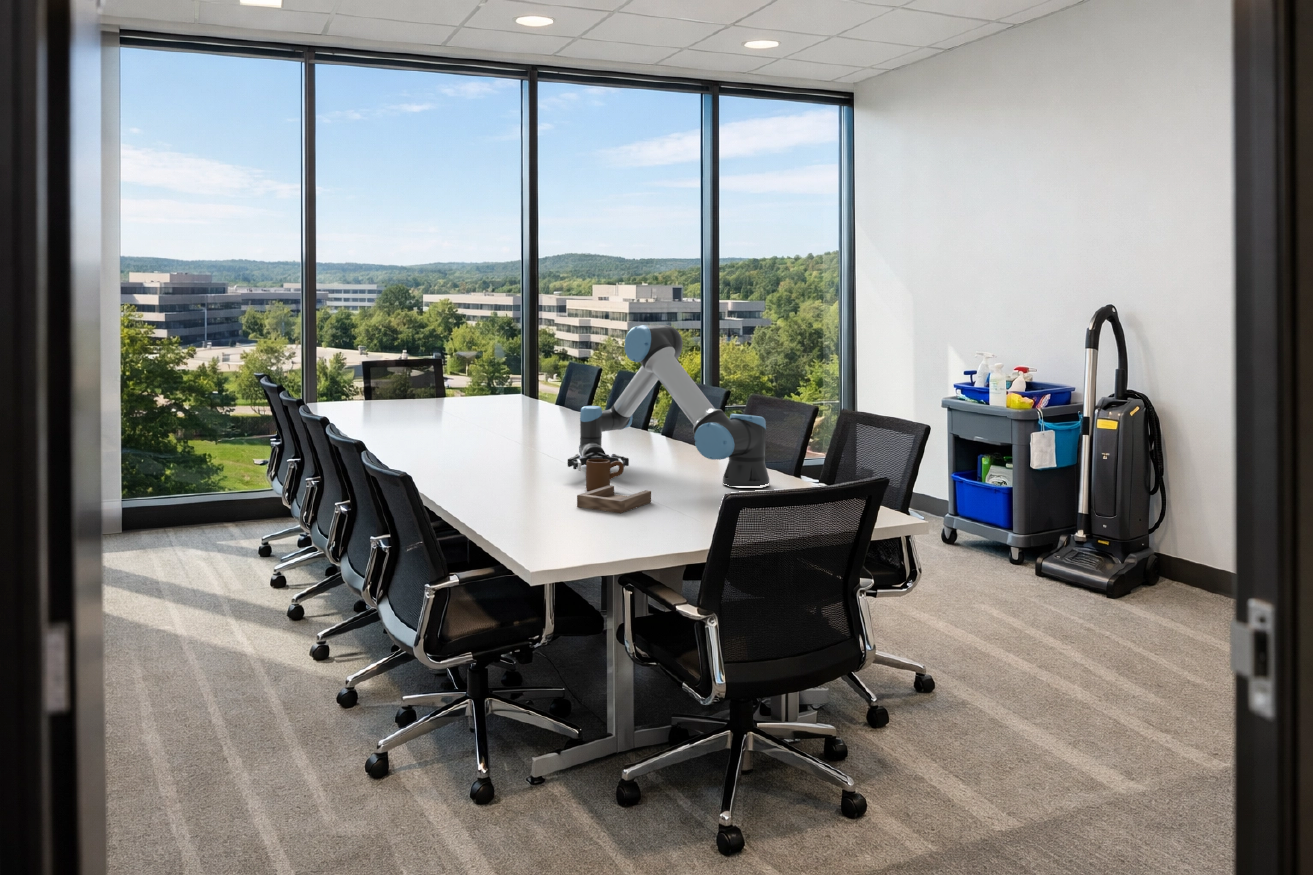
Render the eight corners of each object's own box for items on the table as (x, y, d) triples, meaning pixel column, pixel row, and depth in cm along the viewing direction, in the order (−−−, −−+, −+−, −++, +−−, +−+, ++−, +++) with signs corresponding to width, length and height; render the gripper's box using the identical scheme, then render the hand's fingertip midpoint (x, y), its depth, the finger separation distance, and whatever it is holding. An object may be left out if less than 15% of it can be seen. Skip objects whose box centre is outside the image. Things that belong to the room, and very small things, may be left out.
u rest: (651, 502, 299) (651, 490, 298) (620, 513, 284) (621, 501, 284) (608, 496, 306) (608, 485, 306) (577, 506, 291) (577, 495, 291)
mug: (621, 486, 321) (622, 457, 320) (625, 491, 314) (626, 462, 312) (584, 487, 319) (584, 458, 317) (587, 492, 311) (587, 462, 310)
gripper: (629, 465, 346) (639, 477, 326) (557, 466, 342) (562, 478, 321) (629, 444, 345) (639, 454, 325) (557, 445, 341) (562, 455, 320)
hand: (601, 466), depth 323 cm, fingers open, 13 cm apart
